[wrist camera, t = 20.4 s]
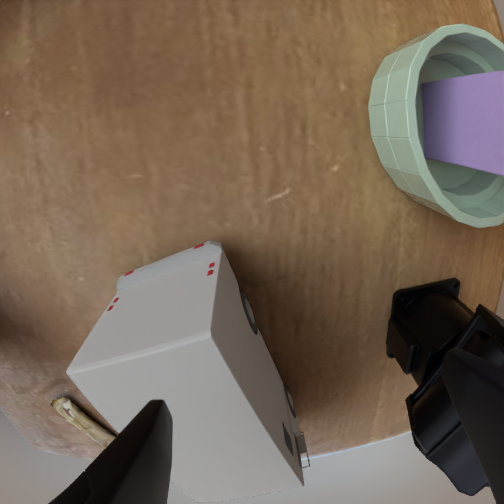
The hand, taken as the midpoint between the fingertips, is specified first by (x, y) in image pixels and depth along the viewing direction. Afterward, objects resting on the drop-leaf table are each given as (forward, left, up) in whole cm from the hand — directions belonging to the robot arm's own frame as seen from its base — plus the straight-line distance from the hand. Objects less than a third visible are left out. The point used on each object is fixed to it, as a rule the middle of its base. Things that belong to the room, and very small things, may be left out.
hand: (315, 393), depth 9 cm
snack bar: (+20, +16, -13) cm, 29 cm away
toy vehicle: (+5, +8, -13) cm, 16 cm away
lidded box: (-13, -7, -12) cm, 19 cm away
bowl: (-13, -7, -13) cm, 20 cm away
